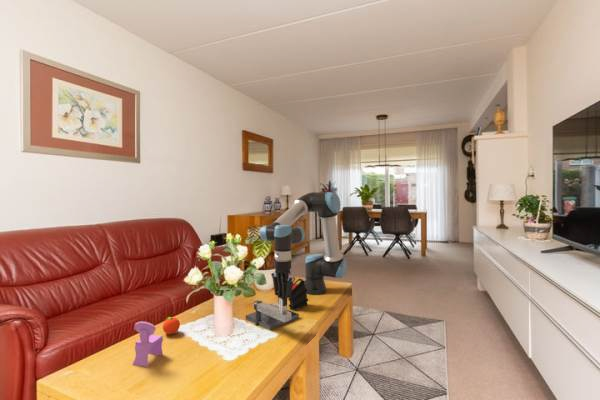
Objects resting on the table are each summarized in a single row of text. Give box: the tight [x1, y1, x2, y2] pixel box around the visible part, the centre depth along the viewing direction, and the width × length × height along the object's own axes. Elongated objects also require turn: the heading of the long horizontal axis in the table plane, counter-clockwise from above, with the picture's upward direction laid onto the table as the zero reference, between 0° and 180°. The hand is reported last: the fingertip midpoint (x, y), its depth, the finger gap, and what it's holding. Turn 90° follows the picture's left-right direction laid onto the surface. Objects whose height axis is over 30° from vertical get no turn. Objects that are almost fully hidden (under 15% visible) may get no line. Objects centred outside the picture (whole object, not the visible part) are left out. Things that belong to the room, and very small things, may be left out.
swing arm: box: [253, 300, 291, 322], centre depth 135 cm, size 22×4×3 cm, turn 45°
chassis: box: [245, 301, 300, 331], centre depth 148 cm, size 20×18×7 cm
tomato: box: [162, 316, 181, 335], centre depth 132 cm, size 8×7×7 cm
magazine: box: [287, 278, 309, 311], centre depth 163 cm, size 4×13×15 cm, turn 136°
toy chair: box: [132, 321, 164, 368], centre depth 111 cm, size 8×9×15 cm
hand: (282, 312), depth 135 cm, fingers closed
